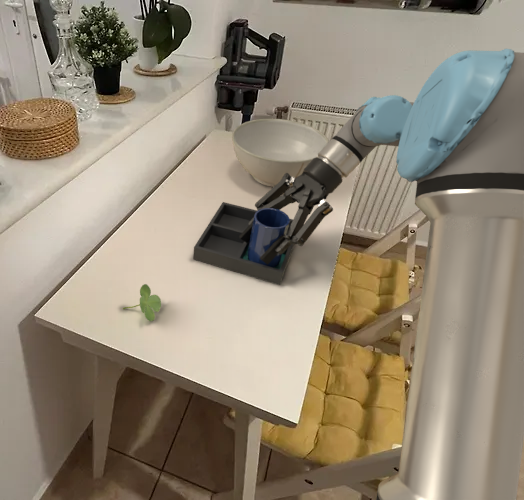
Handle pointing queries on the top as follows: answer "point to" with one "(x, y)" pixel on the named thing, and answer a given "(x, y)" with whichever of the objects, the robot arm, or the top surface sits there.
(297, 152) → the decorative bowl
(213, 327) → the top surface
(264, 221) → the cup
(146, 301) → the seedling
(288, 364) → the top surface
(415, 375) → the robot arm
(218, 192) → the top surface
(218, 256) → the tray
